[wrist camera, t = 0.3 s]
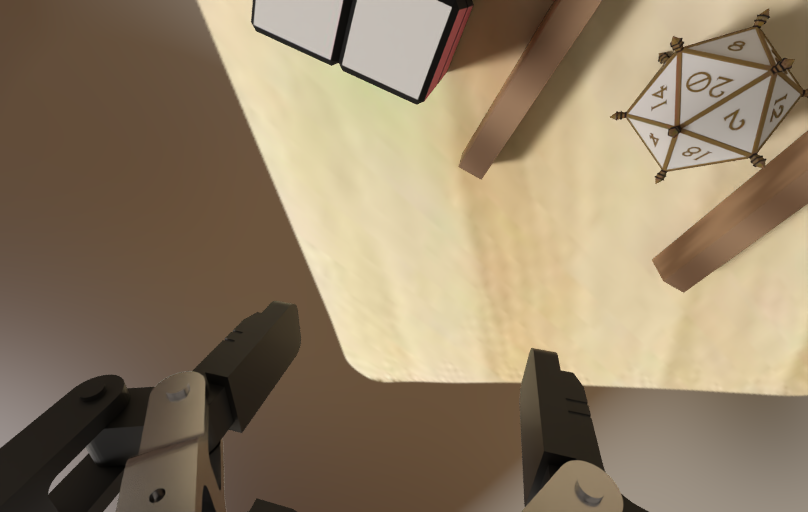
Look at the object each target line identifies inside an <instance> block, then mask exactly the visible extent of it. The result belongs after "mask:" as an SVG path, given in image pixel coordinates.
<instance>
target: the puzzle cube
mask: <svg viewBox="0 0 808 512" xmlns="http://www.w3.org/2000/svg"><path fill="white" fill-rule="evenodd" d="M473 5H474V4H473V1H472V0H253V7H252V19H251V22H252V24H253V26H254V28H255V30H256V31H257V32H259V33H261V34H264V35H266V36H268V37H270V38H272V39H275V40H277V41H279V42H281V43H283V44H285V45H288V46H290V47H292V48H294V49H296V50H298V51H301V52H303V53H305V54H307V55H309V56H312V57H314V58H316V59H318V60H320V61H322V62H325V63H327V64H329V65H331V66H332V65H334V64H337V63H339V64H340V66H341V68H342V70H343V71H345V72H347V73H349V74H351V75H353V76H356V77H358V78H360V79H362V80H364V81H366V82H369V83H371V84H373V85H375V86H377V87H379V88H382V89H384V90H386V91H388V92H390V93H393V94H395V95H397V96H399V97H401V98H403V99H406V100H408V101H410V102H412V103H414V104H419V103H421V102H424V101H425V100H426V98H427V97H428V96H429V94H430V93H431V92H432V91H433V89H434V88H435V87H436V85H437V84H438V83H439V82H440V80H441V79H442V78H443V76H444V75H445V74H446V72H447V70H448V68H449V65H450V63H451V60H452V58H453V55H454V53H455V50H456V48H457V45H458V43H459V40H460V38H461V35H462V33H463V30H464V28H465V25H466V23H467V20H468V18H469V15H470V13H471V10H472V8H473Z"/></svg>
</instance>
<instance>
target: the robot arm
mask: <svg viewBox="0 0 808 512" xmlns="http://www.w3.org/2000/svg"><path fill="white" fill-rule="evenodd" d="M300 344H301V334H300V326H299V317H298V310H297V306H296V305H295V304H290V303H284V302H279V301H273V302H272V303H271V304H270V305H269V306H268V307H267V308H266V309H265V310H264V311H263V312H262V313H259V312H257V313H255V314H253V315H251V316H250V317H248V318H246V319H244V320H243V321H242V322H241V323H240V324H239V325H238V326H237V327H236V328H235V329H234V330H233V332H231V333H230V334H229V335H228V336H227V337H226V338H225V340H223V341H222V342H221V343H220V344H219V345H218V346H217V347H216V348H215V349H214V350H213V351H212V352H211V353H210V354H209V355H208V356H207V357H206V358H205V359H204V360H203V361H202V362H201V363H200V364H199V365H198V366H197V367H196V368H195V369H194V370H193V371H186V372H180V373H177V374H174V375H171V376H169V377H167V378H165V379H164V380H162V381H161V382H160V383H158V384H157V385H156V386H155V387H145V388H127V387H126V385H125V383H124V380H123V379H122V378H121V377H119V376H117V375H103V376H98V377H95V378H92V379H90V380H87V381H85V382H83V383H81V384H80V385H78V386H76V387H75V388H74V389H73V390H71V391H70V392H69V393H67V394H66V395H65V396H64V397H63V398H61V399H60V400H59V401H58V402H56V403H55V404H54V405H53V406H52V407H50V408H49V409H48V410H47V411H45V412H44V413H43V414H42V415H41V416H39V417H38V418H37V419H36V420H34V421H33V422H32V423H31V424H30V425H28V426H27V427H26V428H25V429H24V430H22V431H21V432H20V433H18V434H17V435H16V436H15V437H14V438H12V439H11V440H10V441H9V442H7V443H6V444H5V445H4V446H3V447H1V448H0V512H103V511H104V510H105V509H106V508H107V507H108V505H109V504H110V503H111V502H112V500H113V499H114V498H115V497H116V496H117V494H118V493H119V492H120V493H119V498H118V502H117V507H116V512H227V511H226V505H225V490H224V447H223V439H222V438H223V436H224V435H225V434H226V432H227V431H228V430H233V431H236V432H240V433H242V432H243V431H244V429H245V428H246V426H247V425H248V424H249V422H250V421H251V419H252V418H253V417H254V415H255V414H256V412H257V411H258V409H259V408H260V407H261V405H262V404H263V402H264V401H265V400H266V398H267V396H268V395H269V394H270V392H271V391H272V389H273V388H274V387H275V385H276V384H277V382H278V381H279V380H280V378H281V377H282V375H283V374H284V372H285V371H286V370H287V368H288V367H289V365H290V364H291V362H292V361H293V360H294V358H295V357H296V355H297V353H298V351H299V348H300ZM520 419H521V442H522V460H523V461H522V462H523V483H524V502H525V503H524V504H525V508H524V509H523V510H522V512H648V511H646V510H645V509H643V508H641V507H639V506H637V505H636V504H634V503H632V502H631V501H630V500H628V499H627V498H626V497H624V496H623V495H622V494H621V493H620V490H619V488H618V487H617V485H616V484H615V482H614V481H613V479H612V478H610V476H609V475H607V473H606V472H605V470H604V467H603V463H602V459H601V455H600V451H599V447H598V443H597V439H596V435H595V431H594V427H593V423H592V419H591V418H590V411H589V407H588V405H587V399H586V394H585V391H584V387H583V386H582V384H581V383H580V381H579V380H578V379H577V377H576V376H575V375H574V373H571V372H566V371H561V370H560V365H559V360H558V355H557V353H556V352H551V351H545V350H540V349H534V348H531V350H530V353H529V357H528V360H527V364H526V368H525V372H524V376H523V379H522V383H521V390H520ZM85 447H86V449H87V451H88V452H89V454H88V455H87V456H86V457H85V458H84V459H83V460H82V461H81V462H80V463H79V464H78V465H77V466H76V467H75V468H74V469H73V470H72V471H71V472H70V473H69V474H68V475H67V476H66V477H65V478H64V479H63V480H62V481H61V482H60V483H59V484H58V485H57V486H56V487H55V488H54V489H53V490H52V491H51V492H50V493H49V494H48V491H49V487H50V485H51V483H52V481H53V480H54V479H55V477H56V476H57V475H58V474H59V473H60V472H61V471H62V470H63V469H64V468H65V467H66V466H67V465H68V464H69V463H70V462H71V461H72V460H73V459H74V458H75V457H76V456H77V455H78V454H79V453H80V452H81V451H82V450H83V449H84V448H85ZM249 512H296V511H295V510H294V509H291V508H288V507H284V506H281V505H277V504H274V503H270V502H267V501H264V500H260V499H256V500H255V502H254V504H253V506H252V508H251V509H250V511H249Z"/></svg>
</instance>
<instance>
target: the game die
mask: <svg viewBox="0 0 808 512" xmlns="http://www.w3.org/2000/svg"><path fill="white" fill-rule="evenodd" d="M768 18H770V16H769V9H767V10H766V11H764V12H763V13H761V14H760V15H757V19H756V20H754V22H755V23H754V26H753V27H751V28H747V29H744V30H740V31H737V32H733V33H730V34H726V35H723V36H720V37H716V38H713V39H709V40H706V41H702V42H699V43H696V44H692V45H689V46H685V47H683V44H684V42H682V39H683V38H677V37H674V36H673V38H672V42H671V43H670V45H671V47H672V48H673V50H675V51H676V52H675V53H674V54H673V55H672V56H671V57H669V56H668V54H666V53H659V59H658V62H659V61H660V63H661V64H662V63H663V66H662V67H661V68H660V70H659V71H658V72H657V73H656V75H655V76H654V77H653V79H652V80H651V81H650V82H649V84H648V85H647V86H646V87H645V89H644V90H643V91H642V93H641V94H640V95H639V96H638V98H637V99H636V100H635V102H634V103H633V104H632V105H631V107H630V108H629V109H628V111H627V112H622V111H621V112H617V111H616V113H615V114H613V115H612V116H611V117H610V118H613V119H616V120H617V119H620V120H621V119H622V118H627V120H628V121H629V123H630V124H631V126H632V127H633V129H634V130H635V132H636V133H637V134H638V136H639V137H640V139H641V140H642V142H643V143H644V145H645V146H646V147H647V149H648V150H649V152H650V153H651V155H652V156H653V158H654V159H655V160H656V162H657V163H658V165H659V166H660V168H661V169H662V170H661V171H660V172H659V173H657V176H655V177H656V184H657V183H659V182H660V181H662V180H664V178H665V177H666V173H667V172H668V171H674V170H680V169H686V168H693V167H699V166H705V165H711V164H717V163H723V162H729V161H735V160H741V159H748V158H750V159H751V163H753V164H754V165H753V166H755V167H761V168H764V169H765V161H766V159H764V158H763V156H760V155H758V154H757V153H758V152H759V150H760V149H761V148H762V146H763V145H764V144H765V143H766V141H767V140H768V139H769V137H770V136H771V135H772V133H773V132H774V131H775V130H776V128H777V127H778V126H779V124H780V123H781V122H782V121H783V119H784V118H785V117H786V115H787V114H788V113H789V112H790V110H791V109H792V108H793V106H794V105H795V104H796V103H797V101H798V100H799V99H800V97H803V96H805V97H807V98H808V89H806V90H803V89H802V88H801V86H800V85H799V83H798V82H797V80H796V79H795V77H794V76H793V75H792V73H791V72H790V70H789V69H790V68H792V64H793V62H794V59H787V58H783V60H782V59H781V57H780V56H779V54H778V53H777V52H776V50H775V49H774V47H773V46H772V44H771V43H770V42H769V40H768V39H767V37H766V36H765V34H764V33H763V31H762V30H761V29H760V28H761V26H762V25H763V24H765V23H766V20H767V19H768Z"/></svg>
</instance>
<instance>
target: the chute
mask: <svg viewBox="0 0 808 512" xmlns="http://www.w3.org/2000/svg"><path fill="white" fill-rule="evenodd" d="M601 1H602V0H555V1H554V3H553V4H552V6H551V8H550V9H549V11H548V13H547V14H546V16H545V17H544V19H543V21H542V22H541V24H540V26H539V27H538V29H537V31H536V32H535V34H534V36H533V37H532V39H531V41H530V42H529V44H528V46H527V47H526V49H525V51H524V52H523V54H522V56H521V57H520V59H519V61H518V62H517V64H516V65H515V67H514V69H513V70H512V72H511V74H510V75H509V77H508V79H507V80H506V82H505V84H504V85H503V87H502V89H501V90H500V92H499V94H498V95H497V97H496V99H495V100H494V102H493V104H492V105H491V107H490V109H489V110H488V112H487V113H486V115H485V117H484V118H483V120H482V122H481V123H480V125H479V127H478V128H477V130H476V132H475V133H474V135H473V137H472V138H471V140H470V142H469V143H468V145H467V147H466V148H465V150H464V152H463V153H462V157H461V160H460V164H459V167H460V168H461V169H463V170H465V171H467V172H469V173H470V174H472V175H474V176H476V177H478V178H479V179H482V178H483V177H484V175H485V174H486V172H487V171H488V169H489V168H490V166H491V165H492V163H493V162H494V160H495V159H496V157H497V156H498V154H499V153H500V151H501V150H502V148H503V147H504V145H505V144H506V142H507V141H508V139H509V138H510V136H511V135H512V133H513V132H514V130H515V129H516V128H517V126H518V125H519V123H520V122H521V120H522V119H523V117H524V116H525V114H526V113H527V111H528V110H529V108H530V107H531V105H532V104H533V102H534V101H535V99H536V98H537V96H538V95H539V93H540V92H541V90H542V89H543V87H544V86H545V84H546V83H547V82H548V80H549V79H550V77H551V76H552V74H553V73H554V71H555V70H556V68H557V67H558V65H559V64H560V62H561V61H562V59H563V58H564V56H565V55H566V53H567V52H568V50H569V49H570V47H571V46H572V44H573V43H574V41H575V40H576V38H577V37H578V35H579V34H580V33H581V31H582V30H583V28H584V27H585V25H586V24H587V22H588V21H589V19H590V18H591V16H592V15H593V13H594V12H595V10H596V9H597V7H598V6H599V4H600V3H601ZM806 204H808V131H807V132H806V133H804V134H803V135H802V136H801V137H800V138H798V139H797V140H796V141H795V142H794V143H792V144H791V145H790V146H789V147H788V148H786V149H785V150H784V151H783V152H782V153H780V154H779V155H778V156H777V157H776V158H774V159H773V160H772V161H771V162H769V163H768V164H767V165H766V166H765V169H764V168H762V169H761V170H760V171H759V172H757V173H756V174H755V175H754V176H753V177H751V178H750V179H749V180H748V181H747V182H745V183H744V184H743V185H742V186H741V187H739V188H738V189H737V190H736V191H734V192H733V193H732V194H731V195H730V196H728V197H727V198H726V199H725V200H724V201H722V202H721V203H720V204H719V205H718V206H716V207H715V208H714V209H713V210H712V211H710V212H709V213H708V214H707V215H706V216H704V217H703V218H702V219H701V220H700V221H698V222H697V223H696V224H695V225H693V226H692V227H691V228H690V229H689V230H687V231H686V232H685V233H684V234H683V235H681V236H680V237H679V238H678V239H677V240H675V241H674V242H673V243H672V244H671V245H669V246H668V247H667V248H666V249H665V250H663V251H662V252H661V253H660V254H659V255H657V256H656V257H655V258H654V259H652V261H653V263H654V265H655V267H656V268H657V270H658V272H659V274H660V276H661V278H662V279H663V281H664V282H666V283H668V284H669V285H671V286H673V287H675V288H676V289H678V290H680V291H682V292H685V291H687V290H688V289H689V288H691V287H692V286H694V285H695V284H696V283H698V282H699V281H701V280H702V279H703V278H705V277H706V276H708V275H709V274H710V273H712V272H713V271H714V270H716V269H717V268H719V267H720V266H721V265H723V264H724V263H726V262H727V261H728V260H730V259H731V258H733V257H734V256H735V255H737V254H738V253H739V252H741V251H742V250H744V249H745V248H746V247H748V246H749V245H751V244H752V243H753V242H755V241H756V240H758V239H759V238H760V237H762V236H763V235H764V234H766V233H767V232H769V231H770V230H771V229H773V228H774V227H776V226H777V225H778V224H780V223H781V222H783V221H784V220H785V219H787V218H788V217H789V216H791V215H792V214H794V213H795V212H796V211H798V210H799V209H801V208H802V207H803V206H805V205H806Z"/></svg>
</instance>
